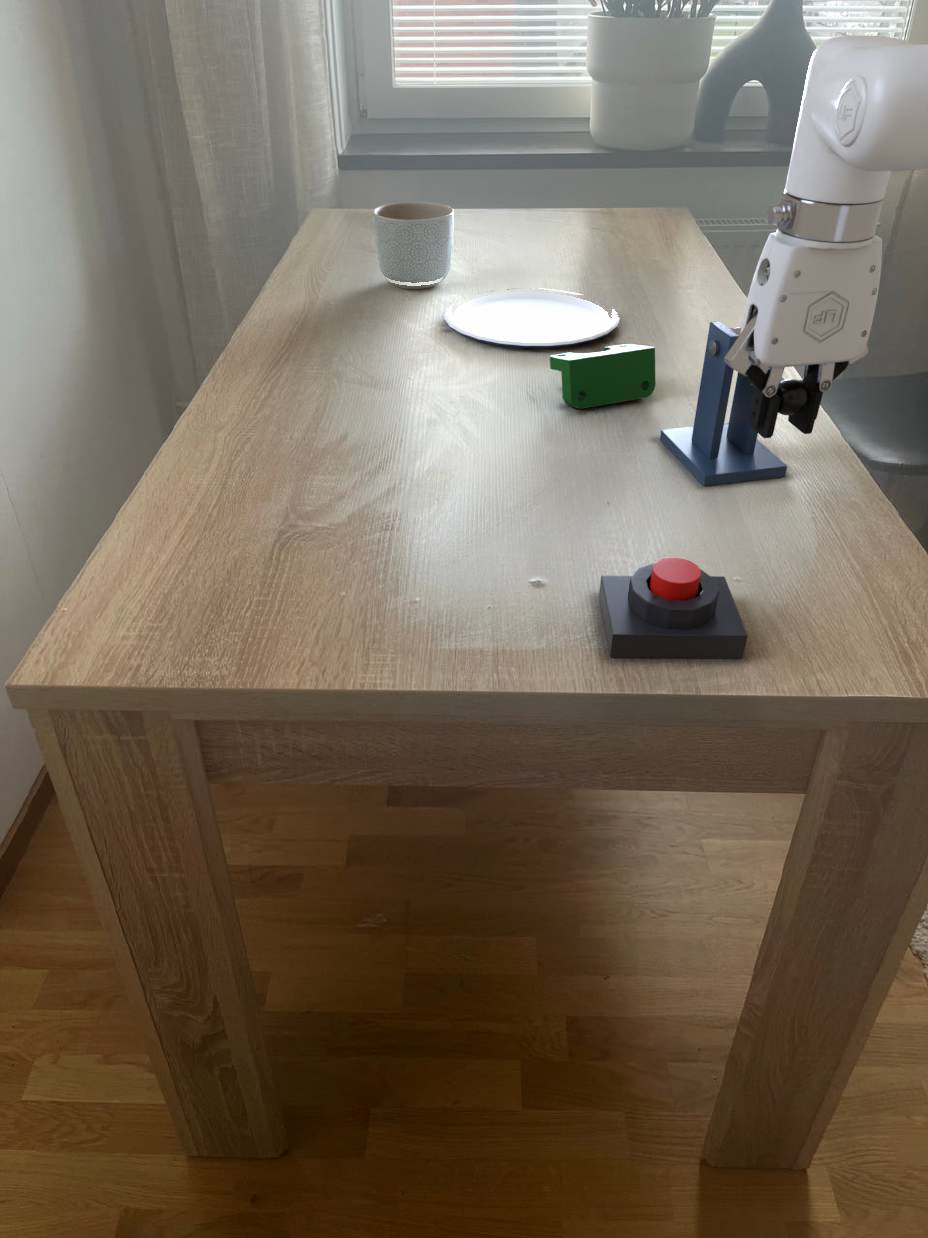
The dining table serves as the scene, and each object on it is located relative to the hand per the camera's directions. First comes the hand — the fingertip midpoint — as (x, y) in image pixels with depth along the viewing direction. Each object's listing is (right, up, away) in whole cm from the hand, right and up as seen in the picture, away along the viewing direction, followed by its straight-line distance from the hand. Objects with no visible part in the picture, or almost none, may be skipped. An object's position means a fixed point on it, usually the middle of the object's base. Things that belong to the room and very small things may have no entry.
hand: (780, 428), depth 85 cm
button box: (-13, -18, -12) cm, 25 cm away
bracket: (-2, -1, +12) cm, 12 cm away
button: (-13, -15, -14) cm, 25 cm away
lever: (-1, +4, +2) cm, 5 cm away
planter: (-37, +36, +62) cm, 81 cm away
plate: (-20, +25, +47) cm, 57 cm away
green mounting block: (-13, +9, +25) cm, 30 cm away
